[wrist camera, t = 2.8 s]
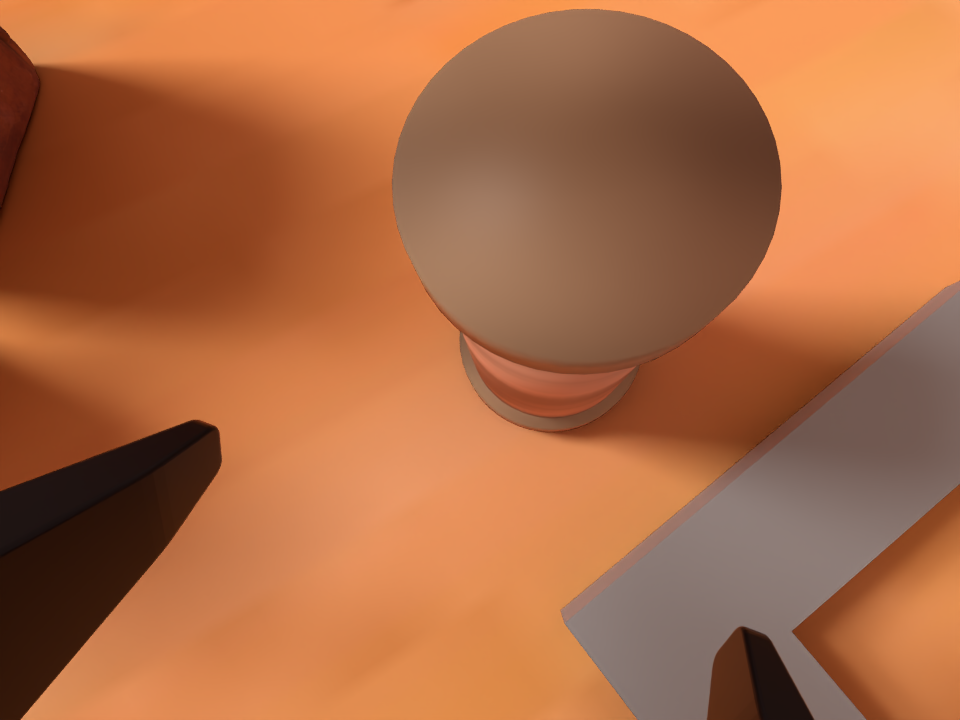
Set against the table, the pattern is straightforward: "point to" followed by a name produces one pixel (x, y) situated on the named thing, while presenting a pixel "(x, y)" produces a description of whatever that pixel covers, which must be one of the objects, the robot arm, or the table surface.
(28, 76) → the wooden figurine
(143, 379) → the table surface
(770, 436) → the gray square frame
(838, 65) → the table surface
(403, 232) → the cord spool
